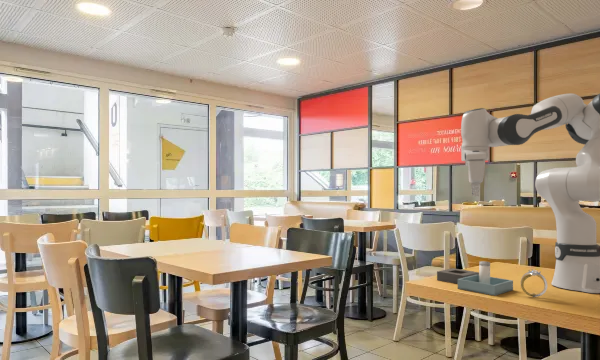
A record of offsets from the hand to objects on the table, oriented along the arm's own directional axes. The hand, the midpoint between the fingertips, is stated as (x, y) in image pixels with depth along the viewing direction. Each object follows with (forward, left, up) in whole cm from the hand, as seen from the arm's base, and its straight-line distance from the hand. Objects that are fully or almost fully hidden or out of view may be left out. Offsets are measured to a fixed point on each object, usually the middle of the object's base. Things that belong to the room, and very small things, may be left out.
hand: (475, 196), depth 154 cm
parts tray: (+1, +12, -29) cm, 31 cm away
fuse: (+1, +12, -29) cm, 31 cm away
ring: (-10, +21, -29) cm, 38 cm away
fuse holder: (+6, -1, -29) cm, 30 cm away
